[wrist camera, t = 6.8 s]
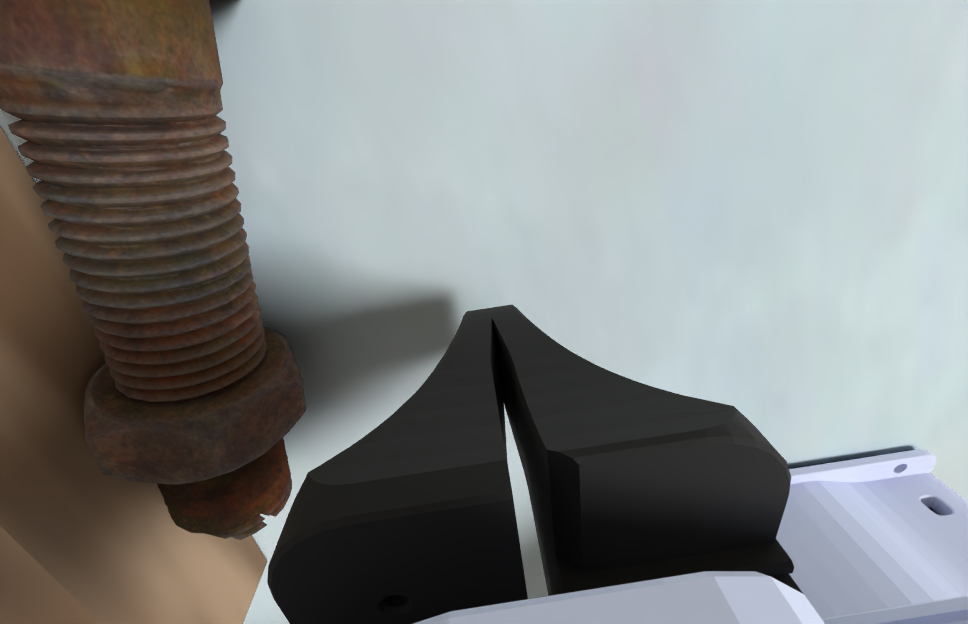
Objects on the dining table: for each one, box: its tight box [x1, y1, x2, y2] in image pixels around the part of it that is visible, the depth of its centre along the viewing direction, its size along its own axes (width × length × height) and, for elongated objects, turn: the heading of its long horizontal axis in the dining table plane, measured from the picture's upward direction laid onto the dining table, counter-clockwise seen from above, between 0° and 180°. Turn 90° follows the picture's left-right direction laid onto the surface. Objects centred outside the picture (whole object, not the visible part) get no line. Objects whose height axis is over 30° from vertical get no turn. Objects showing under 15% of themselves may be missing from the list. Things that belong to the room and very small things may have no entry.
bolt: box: [0, 0, 306, 540], centre depth 10 cm, size 6×5×15 cm
